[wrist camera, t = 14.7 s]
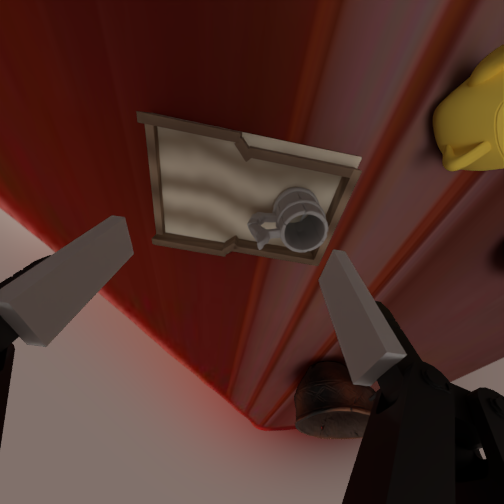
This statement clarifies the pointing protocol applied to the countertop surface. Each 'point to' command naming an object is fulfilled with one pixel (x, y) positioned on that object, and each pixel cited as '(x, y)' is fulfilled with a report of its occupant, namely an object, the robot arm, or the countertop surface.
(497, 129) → the teapot
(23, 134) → the countertop surface
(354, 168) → the rimmed tray
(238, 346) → the countertop surface
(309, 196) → the mug
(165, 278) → the countertop surface
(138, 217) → the countertop surface
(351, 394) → the bowl
